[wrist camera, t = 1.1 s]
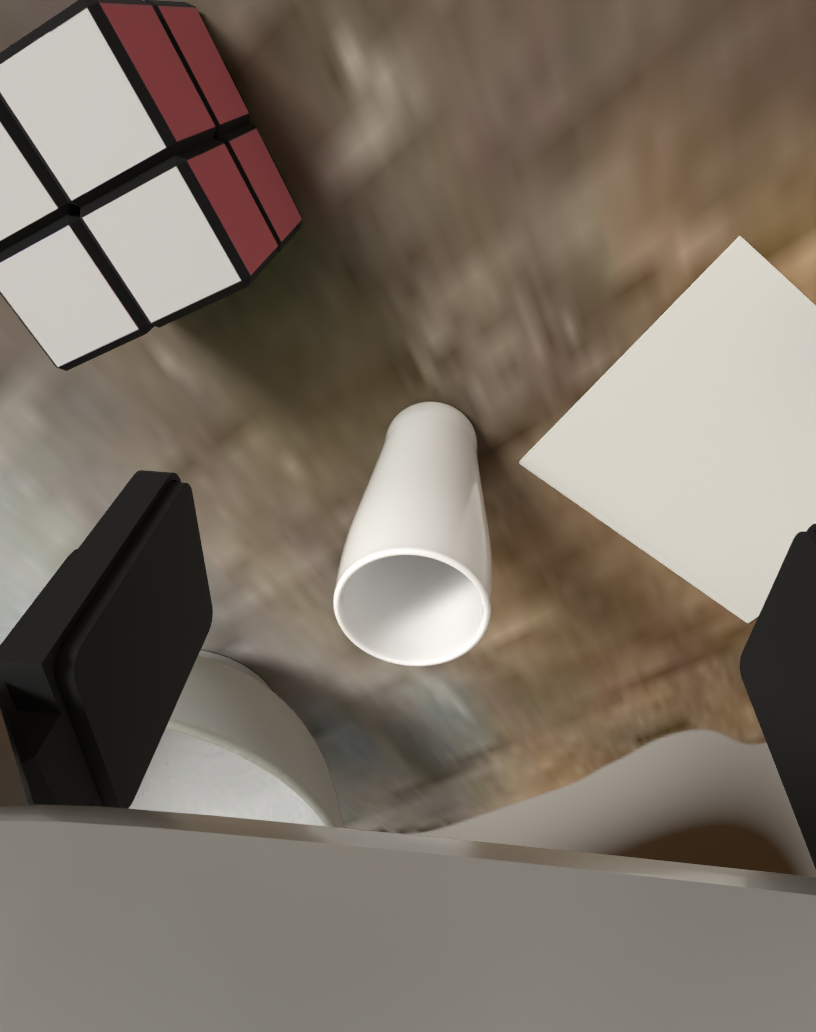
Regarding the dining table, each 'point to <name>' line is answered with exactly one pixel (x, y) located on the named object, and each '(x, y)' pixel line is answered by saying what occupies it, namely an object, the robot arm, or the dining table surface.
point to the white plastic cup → (419, 545)
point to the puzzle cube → (127, 177)
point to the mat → (703, 433)
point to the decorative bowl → (237, 753)
